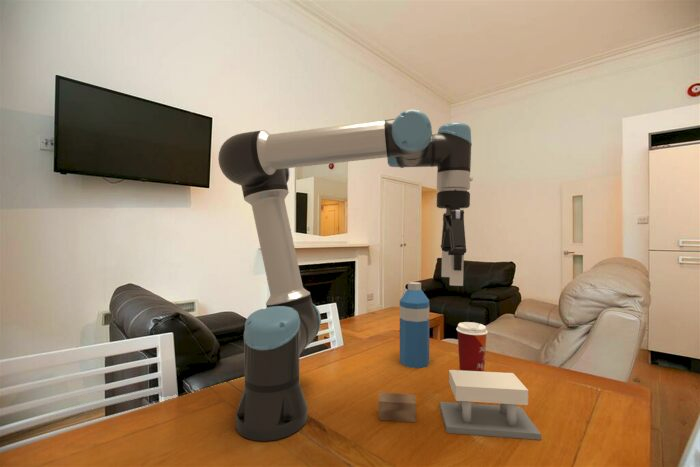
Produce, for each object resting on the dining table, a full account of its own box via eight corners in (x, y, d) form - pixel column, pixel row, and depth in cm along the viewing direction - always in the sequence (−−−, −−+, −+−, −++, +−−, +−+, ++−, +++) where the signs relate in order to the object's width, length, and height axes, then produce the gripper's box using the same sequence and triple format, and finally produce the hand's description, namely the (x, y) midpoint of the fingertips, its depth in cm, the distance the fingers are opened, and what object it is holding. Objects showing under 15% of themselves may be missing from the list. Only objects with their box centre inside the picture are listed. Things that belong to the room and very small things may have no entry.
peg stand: (447, 432, 66) (447, 402, 66) (439, 406, 76) (439, 380, 76) (541, 439, 64) (541, 408, 64) (520, 412, 74) (521, 384, 74)
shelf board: (456, 400, 67) (456, 386, 67) (449, 382, 75) (449, 369, 75) (528, 405, 65) (528, 390, 65) (513, 386, 73) (513, 373, 73)
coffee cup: (490, 387, 86) (490, 330, 86) (458, 384, 87) (458, 328, 87) (484, 373, 94) (484, 322, 94) (454, 371, 96) (454, 320, 96)
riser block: (378, 419, 71) (378, 401, 71) (379, 409, 75) (379, 392, 75) (415, 422, 70) (415, 403, 70) (414, 412, 74) (414, 394, 74)
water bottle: (432, 368, 98) (432, 285, 98) (401, 368, 98) (401, 285, 98) (426, 356, 107) (426, 280, 107) (397, 356, 107) (397, 280, 107)
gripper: (483, 183, 64) (480, 290, 64) (459, 197, 89) (458, 274, 89) (444, 183, 65) (441, 289, 65) (431, 196, 90) (430, 273, 90)
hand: (451, 280), depth 77 cm, fingers open, 13 cm apart
